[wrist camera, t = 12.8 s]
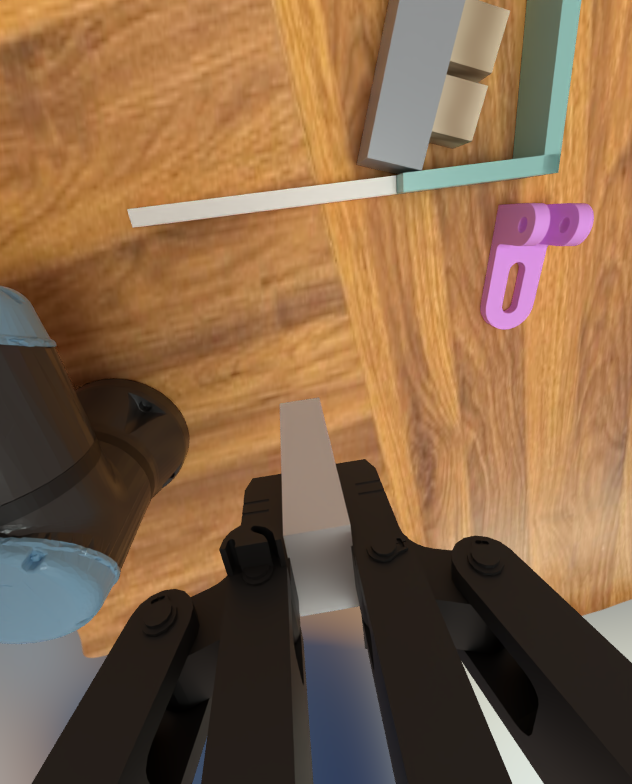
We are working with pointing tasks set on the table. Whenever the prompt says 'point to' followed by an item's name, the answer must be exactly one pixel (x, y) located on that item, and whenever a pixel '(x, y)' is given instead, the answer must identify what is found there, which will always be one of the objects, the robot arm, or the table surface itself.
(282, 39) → the table surface
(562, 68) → the bay
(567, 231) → the bracket
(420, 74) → the block
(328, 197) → the channel
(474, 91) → the chip
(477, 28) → the chip
